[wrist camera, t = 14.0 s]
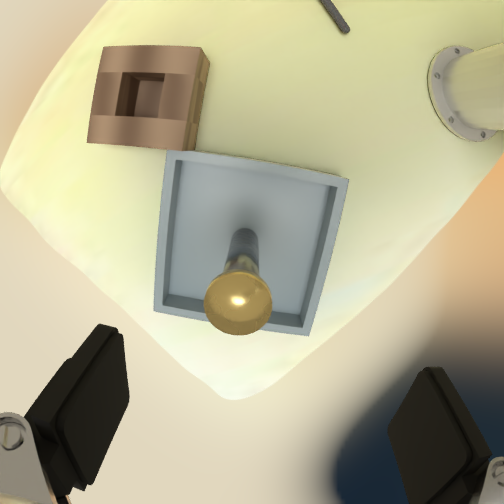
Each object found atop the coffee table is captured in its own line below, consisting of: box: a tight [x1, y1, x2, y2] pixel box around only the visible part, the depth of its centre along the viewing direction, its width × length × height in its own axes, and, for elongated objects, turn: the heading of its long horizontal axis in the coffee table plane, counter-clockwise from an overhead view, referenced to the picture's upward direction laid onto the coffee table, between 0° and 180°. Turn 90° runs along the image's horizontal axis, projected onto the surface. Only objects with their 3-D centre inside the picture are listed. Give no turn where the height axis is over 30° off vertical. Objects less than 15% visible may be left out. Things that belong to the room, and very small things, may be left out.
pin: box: [204, 228, 272, 335], centre depth 28 cm, size 5×5×15 cm
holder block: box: [87, 45, 210, 151], centre depth 29 cm, size 10×10×6 cm
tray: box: [154, 150, 349, 336], centre depth 35 cm, size 18×18×4 cm
